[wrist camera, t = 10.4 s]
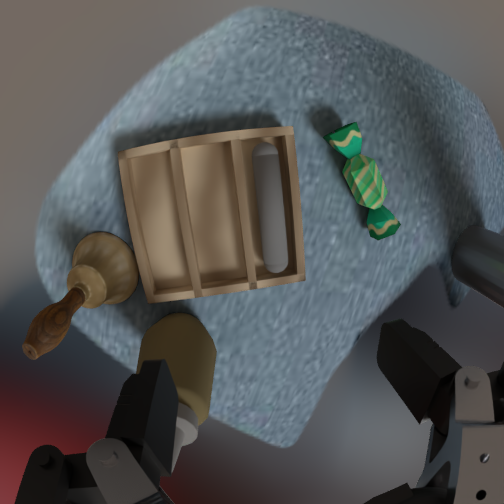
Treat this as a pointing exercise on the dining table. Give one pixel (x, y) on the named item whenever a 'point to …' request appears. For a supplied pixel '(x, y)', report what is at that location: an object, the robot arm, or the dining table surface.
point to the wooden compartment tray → (207, 214)
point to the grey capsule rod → (270, 206)
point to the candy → (364, 180)
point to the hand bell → (85, 288)
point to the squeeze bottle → (184, 369)
